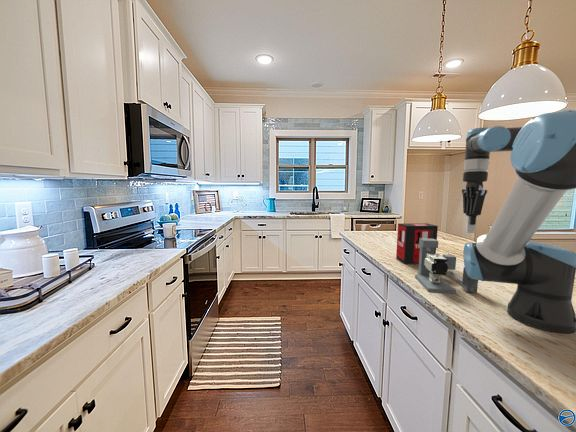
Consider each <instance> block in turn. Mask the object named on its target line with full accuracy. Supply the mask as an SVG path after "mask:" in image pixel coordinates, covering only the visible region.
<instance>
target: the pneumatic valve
mask: <svg viewBox="0 0 576 432" xmlns="http://www.w3.org/2000/svg"><path fill="white" fill-rule="evenodd" d="M447 261H448V260H447V259H446V258H444V257H443V255H441V254H440V253H437V252H436V253H426V258H424V265H425V267H426V268H427V269H428V270H429V271H430V273H429V281H430V282H431V283H439V284H440V283H441V282H440V280H441V279H440V278H442V276H447V271H449V269H448V266H447Z"/></svg>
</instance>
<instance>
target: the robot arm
mask: <svg viewBox="0 0 576 432" xmlns="http://www.w3.org/2000/svg"><path fill="white" fill-rule="evenodd" d="M464 152H465V153H464V160H463V161H464V162H463V170H464V172H463V174H462V175H463V176H462V182H466V185H465V189H464V188H463V189H461V193H462V209H463V210H462V211H463V212H462V213H463V214H465V216H466V218H465V228H464V229H465V230H464V233H466V234H476V225H477V224H476V222H477V217H478V216H480V215H482V210H483V206H484V202H485V198H486V195H487V193H488V190H487V189H484V183H485V182H488V176H489V172H488V170H489V165H490V157H491V156H490V154H491V153H492V152H493V153H495V152H496V153H498V152H500V153H501V152H510V163H511V167H513V169H514V172H515V174H516V176H517V179H516V181H515V183H514V185H513V186H512V188H511V190H510V192H509V194H508V196H507V198H506V199H505V201H504V203H503V205H502V206H501V209H500V210H499V212H498V214H497V215H496V218H495V219H494V222H493V223H492V225H491V227H490V229H489V230H488V232H487V233H484V234H482V235H480V236H479V237H478V238H477V239H476V241H475V242H472V241H471V242H466V243H465V244H464V247H463V255H462V256H463V264H464V266H463V267H465V270H466V273H467V275H468V276H469V277H470V278H471V279H475V280H478V281H481V282H493V283H501V284H512V285H517V286H516V290H515V292H514V293H513V295H512V297H511V299H510V301H509V302H508V304H507V307H506V311H507V314H508V315H509V316H510V317H511V318H512V319H514V320H516V321H519V322H521V323H523V324H525V325H527V326H531V327H534V328H536V329H539V330H544V331H548V332H551V333H552V332H553V333H560V334H572V333H576V313H575V308H574V306H573V302H572V299H573V291H574V285H575V280H576V279H575V277H576V252H575V251H573V250H571V249H568V248H566V247H562V246H558V245H553V244H548V243H542V242H538V241H532V240H531V239H532V238H533V236H534V235H535V234H536V232H537V231H538V229H539V228H540V227H541V226H542V224H543V223H544V221H545V220H546V219H547V217H549V215H550V213H551V212H552V211H553V210H554V208H555V207H556V205H557V204H558V203H559V201H560V200H561V199H562V198H563V196H564V195H565V193H567V191H572V190H573V191H574V190H576V110H575V109H567V110H566V109H565V110H560V111H555V112H546V113H542V114H539V115H537V116H535V117H533V118H530V120H529V121H527V122H526V123H525V124H524V125H523V126H521V127H520V126H517V127H504V126H501V125H496V126H491V127H477V128H476V127H475V128H471V129H469V130H468V131H467V133H466V138H465V151H464Z"/></svg>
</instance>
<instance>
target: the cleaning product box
mask: <svg viewBox="0 0 576 432" xmlns="http://www.w3.org/2000/svg"><path fill="white" fill-rule="evenodd" d="M438 229H439V226H438V225H437V224H436V225H435V224H431V223H420V222H419V223H405V222H404V223H397V236H396V237H397V239H396V240H397V241H396V255H395V256H396V257H395V259H396V260H397V261H399V262H400V263H402V264H403V265H419V254H420V245H419V238H428V239H435V240H437V241H438ZM434 253H437V248H435V251H434Z"/></svg>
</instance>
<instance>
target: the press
mask: <svg viewBox="0 0 576 432" xmlns="http://www.w3.org/2000/svg"><path fill="white" fill-rule="evenodd" d="M419 245H420V254H419V264H418V273H417V274H415V276H414V278H415V279H416V280H417V281H418V283H420V285H421V286H422V287H423V288H424V289H425V290H426V291H427V292H434V293H448V294H449V293H450V294H457V289H456V288H454V286H452V285H451V284H450V283H448V282H447V281H446V280H445V279H444V278H442V277H441V278H440V279H441V280H440V282H441V283H440V284H439V283H431V282H430V281H429V273H430V271H429V270H428V269H427V268H426V267H425V265H424V258H426V253H434V251H435V248H436V249H439V240H438V239H437V240H435V239H428V238H419ZM442 256H443V257H444V258H446V259H447V260H448V261H447V266H448V270H450V271H452V270H453V271H455V270H456V265H457V264H456V263H457V256H455V255H454V254H445V253H444V254H442Z"/></svg>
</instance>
